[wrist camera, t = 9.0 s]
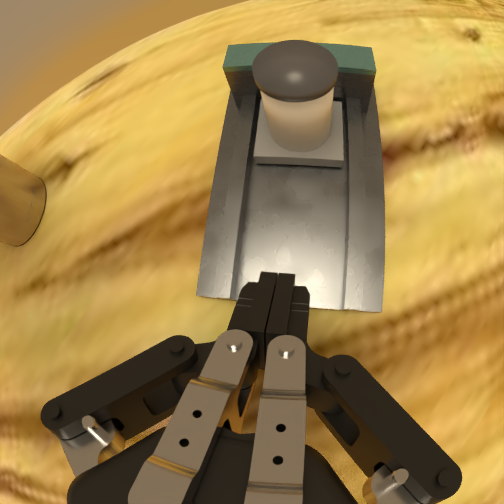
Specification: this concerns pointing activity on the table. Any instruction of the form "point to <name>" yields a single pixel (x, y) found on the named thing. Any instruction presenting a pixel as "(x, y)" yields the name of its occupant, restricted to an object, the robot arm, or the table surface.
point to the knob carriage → (298, 106)
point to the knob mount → (299, 198)
